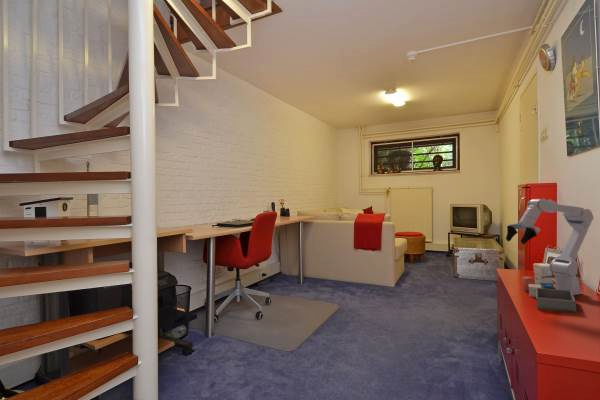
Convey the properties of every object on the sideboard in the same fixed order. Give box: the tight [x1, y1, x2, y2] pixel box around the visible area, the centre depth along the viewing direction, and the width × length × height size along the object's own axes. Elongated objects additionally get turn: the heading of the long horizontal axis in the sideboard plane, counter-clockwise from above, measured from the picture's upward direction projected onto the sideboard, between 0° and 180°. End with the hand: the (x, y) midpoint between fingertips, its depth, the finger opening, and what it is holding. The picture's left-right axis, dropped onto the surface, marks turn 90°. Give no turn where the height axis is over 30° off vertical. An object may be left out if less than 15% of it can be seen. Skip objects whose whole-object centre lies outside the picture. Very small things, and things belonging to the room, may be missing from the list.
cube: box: [528, 284, 542, 298], centre depth 157 cm, size 5×5×5 cm
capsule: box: [521, 276, 536, 293], centre depth 165 cm, size 5×5×7 cm
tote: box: [535, 287, 577, 314], centre depth 142 cm, size 17×13×5 cm
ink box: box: [533, 262, 554, 289], centre depth 171 cm, size 9×5×12 cm, turn 168°
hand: (514, 241), depth 152 cm, fingers open, 7 cm apart
